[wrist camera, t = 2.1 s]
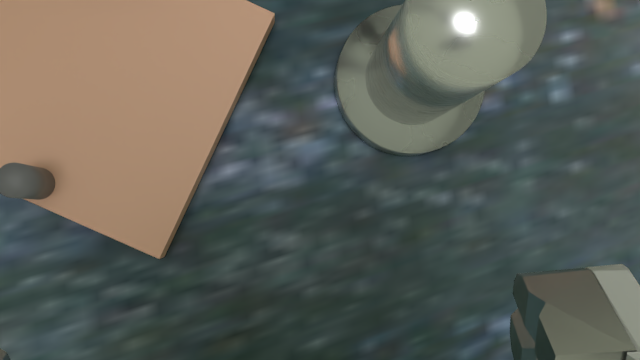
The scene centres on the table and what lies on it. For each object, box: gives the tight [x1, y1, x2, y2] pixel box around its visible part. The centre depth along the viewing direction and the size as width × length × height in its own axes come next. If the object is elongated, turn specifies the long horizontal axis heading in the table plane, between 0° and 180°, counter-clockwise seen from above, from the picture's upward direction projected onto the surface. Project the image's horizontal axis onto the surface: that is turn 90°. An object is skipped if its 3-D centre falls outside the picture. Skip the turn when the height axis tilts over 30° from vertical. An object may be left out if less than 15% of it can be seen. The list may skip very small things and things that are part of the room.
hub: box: [334, 0, 547, 156], centre depth 28 cm, size 8×8×12 cm
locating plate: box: [0, 0, 275, 259], centre depth 30 cm, size 14×14×4 cm
